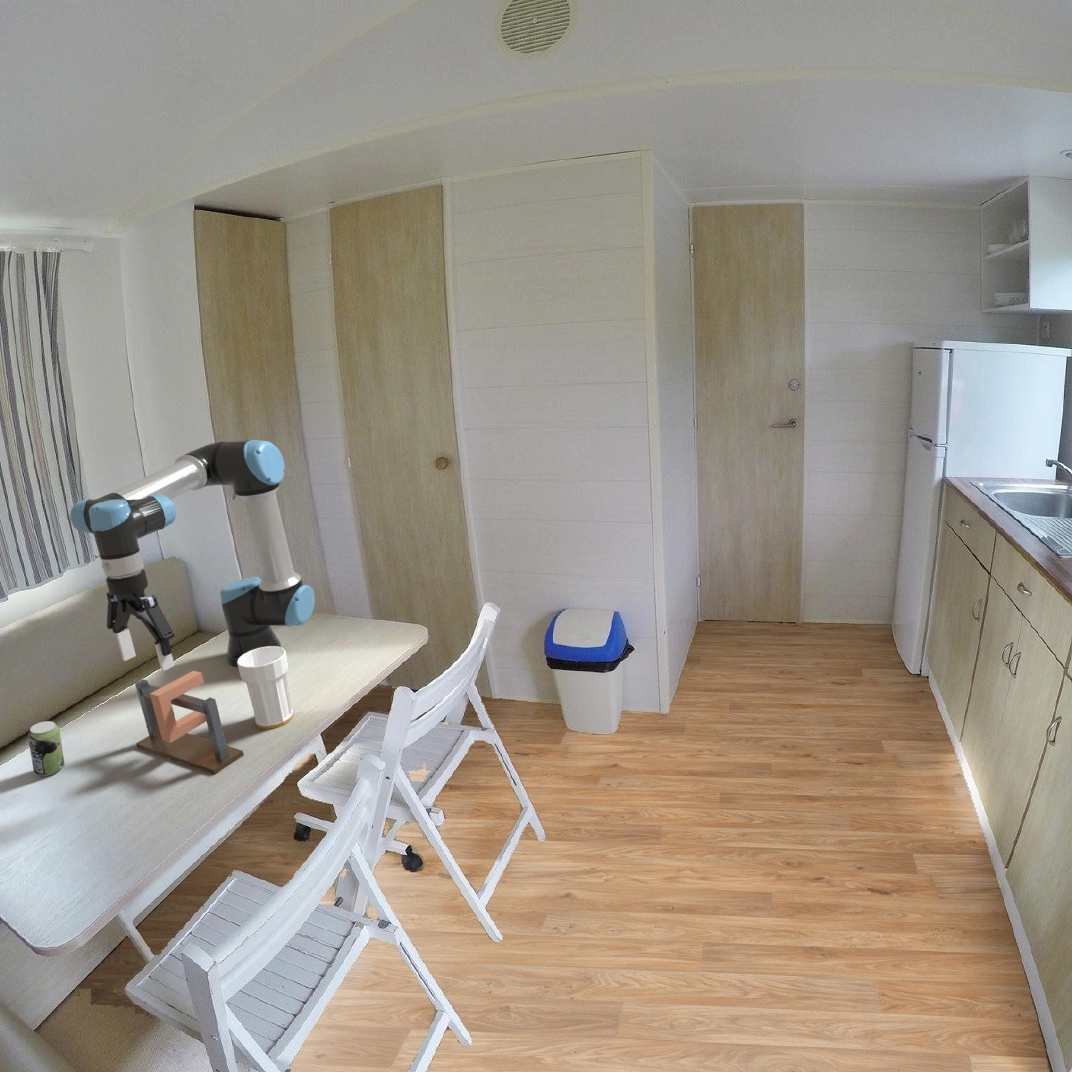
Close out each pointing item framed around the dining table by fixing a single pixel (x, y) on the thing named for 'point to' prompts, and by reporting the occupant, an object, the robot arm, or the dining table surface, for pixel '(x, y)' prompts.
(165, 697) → the c link
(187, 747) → the stand
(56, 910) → the dining table surface
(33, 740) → the beverage can
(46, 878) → the dining table surface
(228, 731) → the dining table surface
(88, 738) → the dining table surface
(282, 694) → the cup
